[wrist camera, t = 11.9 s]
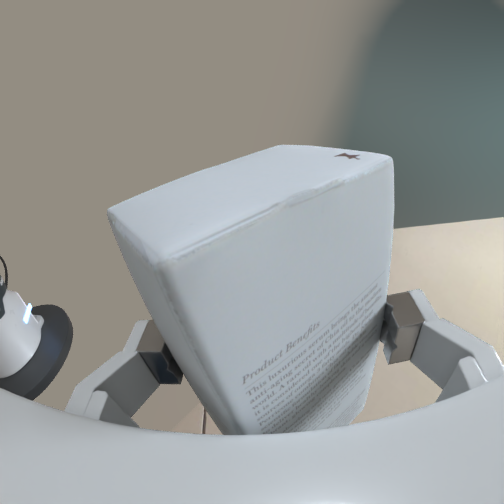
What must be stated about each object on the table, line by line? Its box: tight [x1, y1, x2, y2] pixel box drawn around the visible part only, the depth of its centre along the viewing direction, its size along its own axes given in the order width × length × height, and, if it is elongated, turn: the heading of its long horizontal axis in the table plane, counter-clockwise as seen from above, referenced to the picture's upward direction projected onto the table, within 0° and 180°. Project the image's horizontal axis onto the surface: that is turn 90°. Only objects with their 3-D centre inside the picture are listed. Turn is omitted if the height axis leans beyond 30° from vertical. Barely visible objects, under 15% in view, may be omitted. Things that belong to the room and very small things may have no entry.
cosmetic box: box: [107, 145, 394, 435], centre depth 9 cm, size 6×4×12 cm
